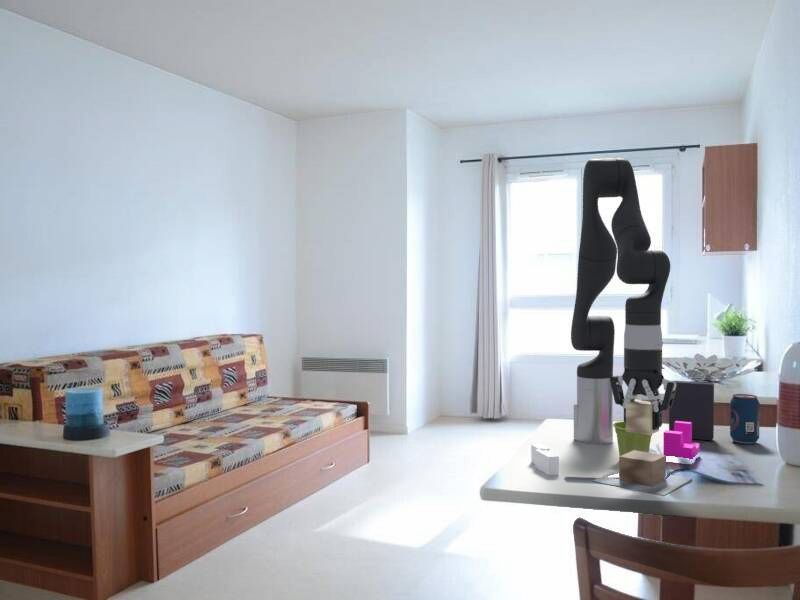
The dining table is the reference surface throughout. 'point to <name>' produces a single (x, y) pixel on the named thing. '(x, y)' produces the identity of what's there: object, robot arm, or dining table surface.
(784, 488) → the dining table surface
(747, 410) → the soda can
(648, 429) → the maple brick
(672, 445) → the toy block
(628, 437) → the plant pot
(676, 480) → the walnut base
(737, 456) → the dining table surface
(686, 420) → the dark grey box
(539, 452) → the napkin holder
